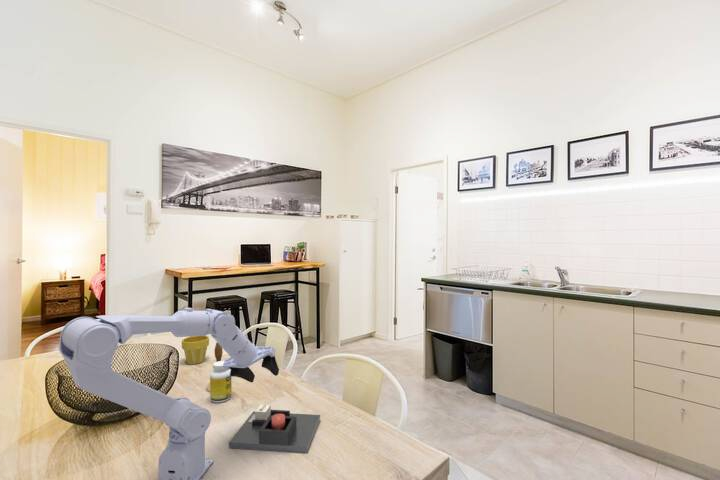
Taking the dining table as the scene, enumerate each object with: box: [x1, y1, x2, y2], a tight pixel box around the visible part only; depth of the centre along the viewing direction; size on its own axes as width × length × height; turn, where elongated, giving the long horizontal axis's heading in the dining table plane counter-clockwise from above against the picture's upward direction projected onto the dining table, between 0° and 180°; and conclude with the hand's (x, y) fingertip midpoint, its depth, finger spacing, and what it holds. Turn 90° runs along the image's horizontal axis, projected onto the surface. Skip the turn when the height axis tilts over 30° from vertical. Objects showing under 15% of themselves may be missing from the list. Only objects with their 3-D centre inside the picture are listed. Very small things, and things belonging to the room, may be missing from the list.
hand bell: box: [205, 341, 223, 393], centre depth 120 cm, size 8×8×16 cm
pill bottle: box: [209, 360, 233, 403], centre depth 112 cm, size 6×6×12 cm
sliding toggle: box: [255, 402, 272, 420], centre depth 96 cm, size 4×3×4 cm
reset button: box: [272, 414, 285, 430], centre depth 88 cm, size 3×3×3 cm
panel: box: [228, 409, 321, 454], centre depth 92 cm, size 15×20×5 cm
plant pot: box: [181, 335, 210, 365], centre depth 144 cm, size 10×10×10 cm
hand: (265, 375), depth 94 cm, fingers open, 7 cm apart
